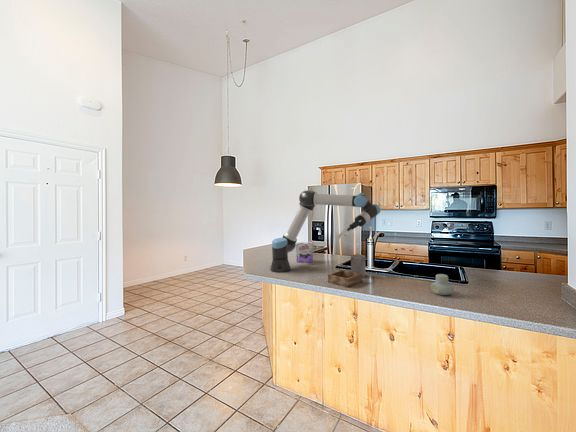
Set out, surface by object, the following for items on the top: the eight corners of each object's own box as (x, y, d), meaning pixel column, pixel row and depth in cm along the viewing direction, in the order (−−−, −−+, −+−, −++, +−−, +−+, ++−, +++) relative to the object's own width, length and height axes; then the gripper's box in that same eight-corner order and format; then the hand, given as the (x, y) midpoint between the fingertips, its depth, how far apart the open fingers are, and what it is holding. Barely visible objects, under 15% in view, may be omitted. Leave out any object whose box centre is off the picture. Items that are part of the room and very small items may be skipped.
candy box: (296, 262, 230) (296, 243, 229) (297, 260, 236) (296, 241, 235) (312, 262, 228) (312, 242, 227) (313, 260, 233) (312, 241, 233)
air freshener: (428, 290, 152) (428, 273, 151) (442, 289, 152) (442, 272, 152) (440, 297, 141) (440, 278, 140) (456, 296, 142) (456, 277, 141)
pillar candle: (349, 274, 190) (348, 252, 188) (362, 273, 190) (362, 252, 189) (353, 278, 180) (353, 255, 179) (367, 277, 181) (367, 255, 180)
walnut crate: (328, 282, 172) (327, 274, 172) (342, 277, 182) (342, 270, 182) (347, 287, 161) (347, 279, 161) (362, 281, 171) (361, 274, 171)
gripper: (373, 217, 177) (350, 235, 171) (358, 228, 201) (337, 244, 194) (366, 208, 179) (342, 226, 172) (352, 220, 202) (330, 236, 195)
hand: (339, 236), depth 183 cm, fingers open, 13 cm apart
